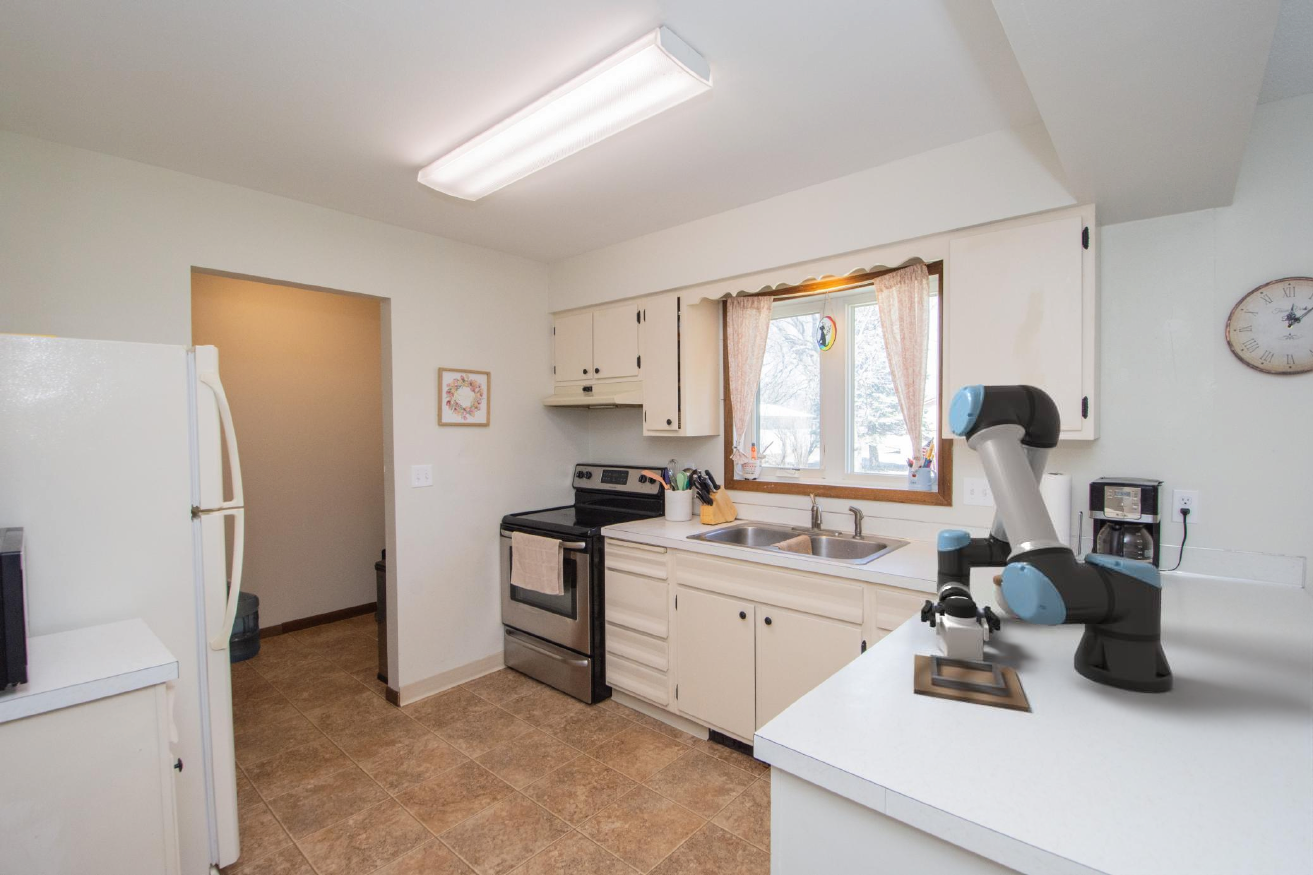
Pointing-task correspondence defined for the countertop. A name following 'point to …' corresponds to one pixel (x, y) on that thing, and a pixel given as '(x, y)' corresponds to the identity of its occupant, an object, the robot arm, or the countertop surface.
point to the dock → (968, 681)
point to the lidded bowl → (1002, 597)
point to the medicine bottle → (961, 630)
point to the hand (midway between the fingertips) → (962, 631)
